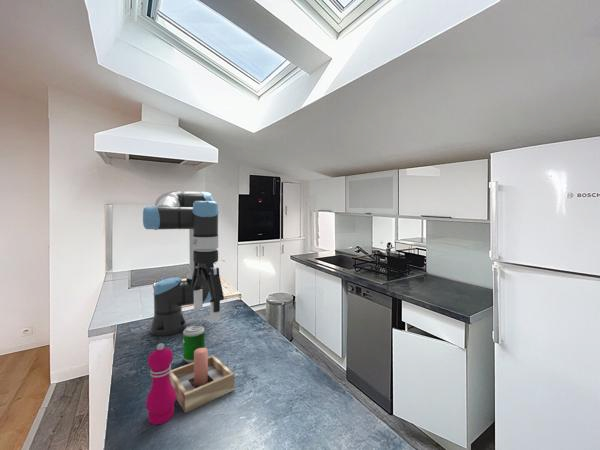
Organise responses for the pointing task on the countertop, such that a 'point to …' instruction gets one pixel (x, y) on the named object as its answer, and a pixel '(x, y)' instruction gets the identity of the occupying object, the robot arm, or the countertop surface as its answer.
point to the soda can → (192, 341)
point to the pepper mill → (160, 386)
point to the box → (193, 398)
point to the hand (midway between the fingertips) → (206, 315)
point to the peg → (200, 367)
